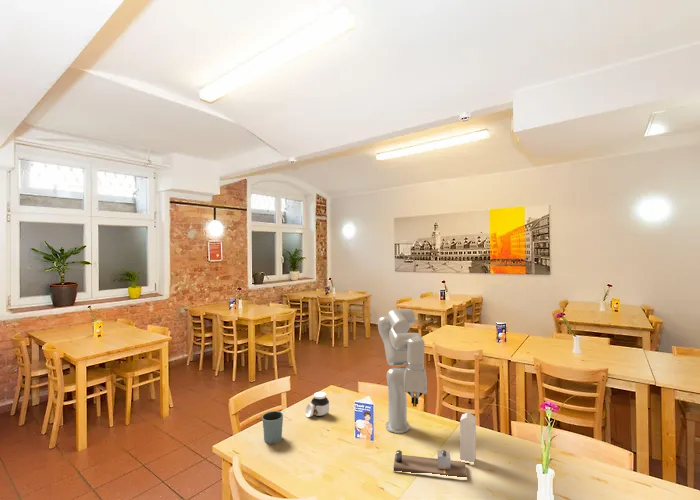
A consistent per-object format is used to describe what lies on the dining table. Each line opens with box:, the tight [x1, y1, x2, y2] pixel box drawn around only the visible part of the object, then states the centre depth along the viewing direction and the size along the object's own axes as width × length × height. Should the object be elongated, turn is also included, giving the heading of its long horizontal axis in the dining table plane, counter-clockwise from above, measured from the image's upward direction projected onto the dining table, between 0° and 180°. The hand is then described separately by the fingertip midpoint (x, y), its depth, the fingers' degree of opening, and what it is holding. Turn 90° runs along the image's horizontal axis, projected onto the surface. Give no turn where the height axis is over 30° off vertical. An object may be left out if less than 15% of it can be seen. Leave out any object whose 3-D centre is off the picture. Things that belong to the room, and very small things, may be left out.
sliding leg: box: [437, 449, 451, 470], centre depth 153 cm, size 5×5×6 cm
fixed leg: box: [395, 449, 403, 463], centre depth 156 cm, size 2×2×4 cm
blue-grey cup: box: [261, 410, 284, 445], centre depth 178 cm, size 10×10×12 cm
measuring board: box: [393, 453, 468, 478], centre depth 154 cm, size 10×30×2 cm, turn 78°
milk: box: [459, 409, 477, 462], centre depth 160 cm, size 6×6×22 cm
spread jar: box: [305, 391, 330, 418], centre depth 203 cm, size 12×11×12 cm
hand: (414, 405), depth 162 cm, fingers closed
